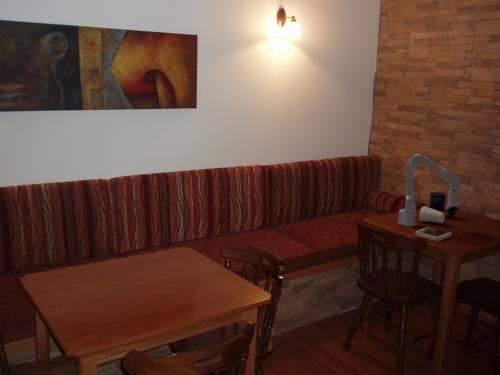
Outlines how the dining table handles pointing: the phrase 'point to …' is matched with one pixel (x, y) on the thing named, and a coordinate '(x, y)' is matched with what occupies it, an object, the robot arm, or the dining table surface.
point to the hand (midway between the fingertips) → (451, 218)
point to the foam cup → (431, 215)
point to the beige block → (430, 231)
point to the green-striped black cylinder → (437, 201)
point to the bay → (422, 231)
